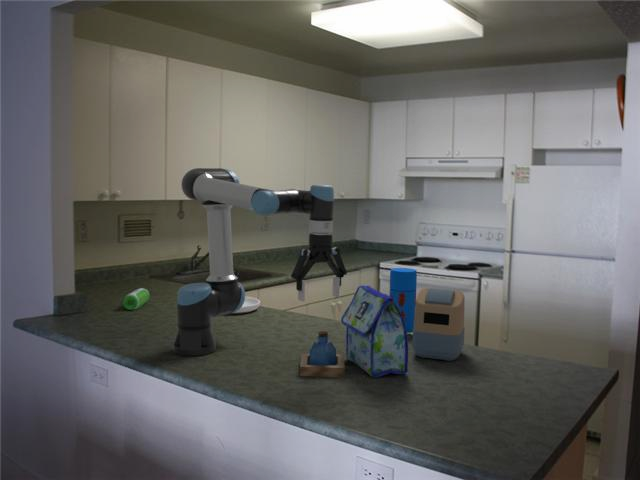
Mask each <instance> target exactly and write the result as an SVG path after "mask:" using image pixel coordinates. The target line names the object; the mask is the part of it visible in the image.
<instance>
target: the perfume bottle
mask: <svg viewBox="0 0 640 480" xmlns="http://www.w3.org/2000/svg"><path fill="white" fill-rule="evenodd" d="M317 334H318V336H317V340H318V341H316V342H315V341H314V343H313V345H312V346H311V348H310V349H309V354H310V364H309V365H333V366H336V354H337V349H336V347H335V346H334V344H333V342H332V341H328V340H329V332H328V331H324V330H323V331H321V330H320V331H318V332H317Z"/></svg>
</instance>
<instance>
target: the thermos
mask: <svg viewBox="0 0 640 480" xmlns="http://www.w3.org/2000/svg"><path fill="white" fill-rule="evenodd" d="M417 272H418V271H417V269H414V268H410V267H393V268H391V269H390V271H389V295H388V296H390V297H392V298H393V300H394V301H395V303H396V305H397V306H398V308H399V310H400V312H401V314H402V316H403V318H404V321H405V325H406V330H407V334H409V333H413V329H414V320H415V306H416V299H417V282H418V281H417V280H418V279H417V277H418V275H417V274H418V273H417Z"/></svg>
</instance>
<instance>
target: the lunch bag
mask: <svg viewBox="0 0 640 480" xmlns="http://www.w3.org/2000/svg"><path fill="white" fill-rule="evenodd" d="M340 319H341V320H340V322H341V324H342V325H343V326H345V327H346V333H345V334H346V336H345V338H346V339H345V341H346V349H345V351H346V353H345V355H346V357H345V358H346V359H347V360H349V362H352V363H354V364H355V365H357V366H358V367H360V369H362V370H364V371H365V372H366V373H367V374H368V375H369V376H370V377H372V378H373V379H376V378H379V377H382V376H384V375H388V374H391V373H392V374H398V375H405V374H407V373H408V370H409V369H408V367H409V365H408V364H409V340H408V339H409V337H408V333H407V330H406V325H405V321H404V318H403V316H402V314H401V312H400V310H399V308H398V306H397V305H396V303H395V301H394V300H393V298H392V297H390V296H389V295H388V294H386V293H383V292H380V291H379V290H377V289H375V288H373V287H371V285H359V286H358V287H357V289H356V291H355V293H354V295H353V297H352V300H351V302H350V303H349V305H348V307H347V308H346V310H345V311H344V313H343V314H342V317H341V318H340Z"/></svg>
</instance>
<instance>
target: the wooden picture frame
mask: <svg viewBox="0 0 640 480" xmlns="http://www.w3.org/2000/svg"><path fill="white" fill-rule="evenodd" d="M344 356H345V355H344V354H338V353H336V366H333V365H309V364H310V353H301V359H300V366H299V376H300V377H322V378H323V377H324V378H325V377H329V378H333V377H335V378H345V371H346V370H345V357H344Z"/></svg>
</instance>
